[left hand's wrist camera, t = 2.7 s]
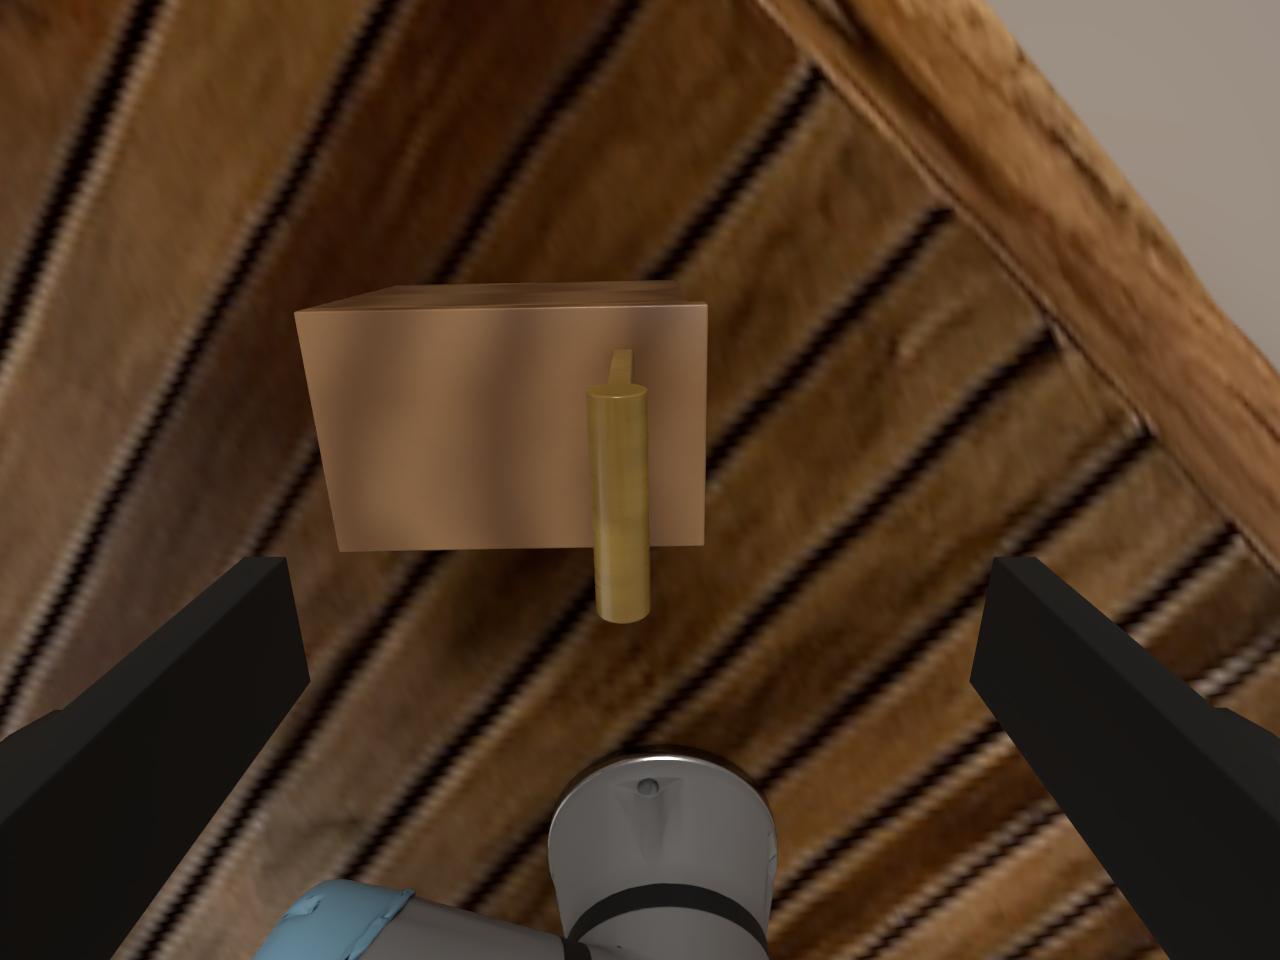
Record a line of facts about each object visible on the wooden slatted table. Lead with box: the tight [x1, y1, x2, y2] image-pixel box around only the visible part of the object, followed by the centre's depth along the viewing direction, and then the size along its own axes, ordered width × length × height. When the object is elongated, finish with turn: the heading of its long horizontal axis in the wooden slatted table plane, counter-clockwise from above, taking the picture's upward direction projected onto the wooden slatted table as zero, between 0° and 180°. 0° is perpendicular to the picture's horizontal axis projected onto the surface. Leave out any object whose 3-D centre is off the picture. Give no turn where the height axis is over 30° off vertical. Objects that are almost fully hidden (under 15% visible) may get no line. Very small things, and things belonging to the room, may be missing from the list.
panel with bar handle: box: [294, 301, 708, 624], centre depth 23 cm, size 15×9×9 cm, turn 91°
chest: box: [308, 280, 688, 309], centre depth 32 cm, size 14×9×10 cm
